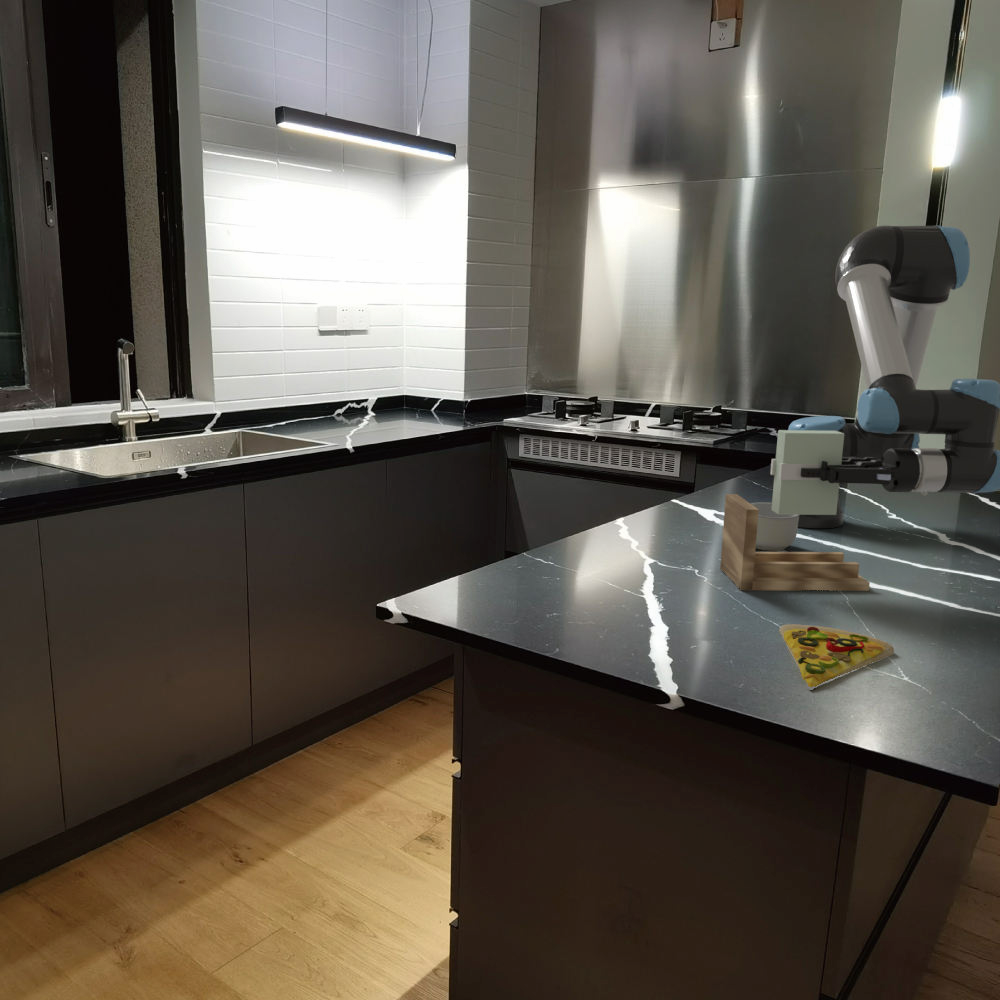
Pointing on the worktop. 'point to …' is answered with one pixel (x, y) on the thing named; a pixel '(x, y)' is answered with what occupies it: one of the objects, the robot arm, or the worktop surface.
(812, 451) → the pale green block
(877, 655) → the pizza slice
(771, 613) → the worktop surface
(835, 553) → the track
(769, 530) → the teacup
